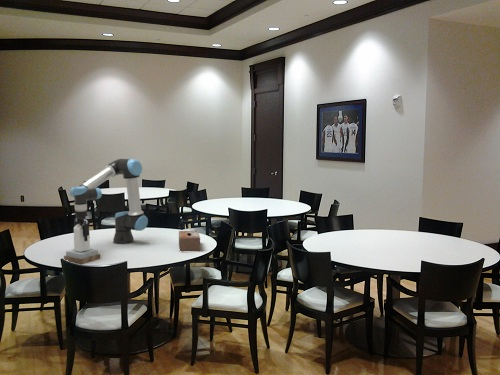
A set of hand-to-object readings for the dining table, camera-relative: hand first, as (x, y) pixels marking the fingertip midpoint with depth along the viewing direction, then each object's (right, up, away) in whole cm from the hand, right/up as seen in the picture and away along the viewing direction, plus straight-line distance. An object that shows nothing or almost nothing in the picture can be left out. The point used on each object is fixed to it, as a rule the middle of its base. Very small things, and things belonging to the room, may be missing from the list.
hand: (82, 244), depth 302 cm
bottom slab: (0, -10, +1) cm, 10 cm away
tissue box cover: (+65, -7, +38) cm, 76 cm away
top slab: (0, -7, +1) cm, 7 cm away
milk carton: (0, -4, 0) cm, 4 cm away
